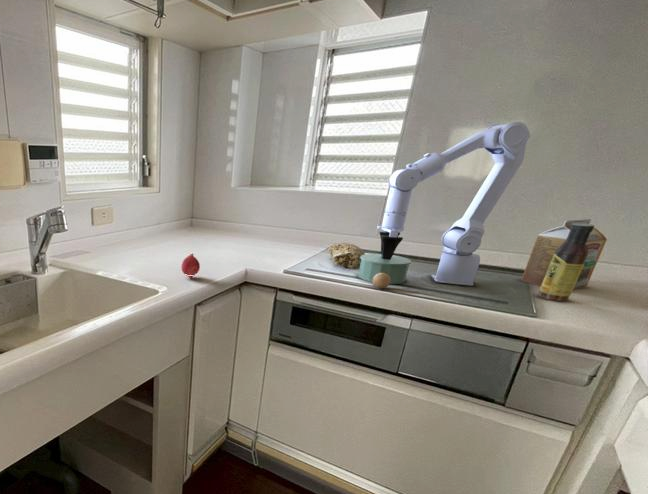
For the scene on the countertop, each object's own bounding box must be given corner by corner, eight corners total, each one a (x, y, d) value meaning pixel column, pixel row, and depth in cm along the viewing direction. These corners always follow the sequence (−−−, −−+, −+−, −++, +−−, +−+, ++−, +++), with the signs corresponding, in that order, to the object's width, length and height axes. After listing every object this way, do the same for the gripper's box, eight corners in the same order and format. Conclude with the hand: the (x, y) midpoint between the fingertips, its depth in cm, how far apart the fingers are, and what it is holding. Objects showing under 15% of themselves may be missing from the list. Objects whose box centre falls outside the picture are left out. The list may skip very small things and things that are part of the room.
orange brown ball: (388, 286, 120) (391, 271, 118) (389, 291, 116) (393, 275, 114) (370, 285, 121) (373, 270, 120) (371, 289, 118) (374, 274, 116)
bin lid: (407, 259, 129) (411, 244, 128) (413, 269, 118) (417, 253, 116) (359, 255, 135) (362, 241, 133) (360, 264, 123) (363, 249, 121)
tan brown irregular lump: (362, 273, 138) (368, 251, 152) (361, 252, 135) (368, 231, 149) (321, 275, 146) (331, 253, 160) (320, 254, 142) (329, 234, 156)
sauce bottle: (536, 293, 113) (564, 221, 106) (567, 297, 110) (598, 223, 102) (537, 299, 109) (566, 224, 101) (569, 304, 105) (602, 226, 97)
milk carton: (561, 290, 116) (589, 223, 108) (521, 280, 125) (543, 218, 118) (586, 287, 118) (614, 221, 111) (544, 277, 128) (568, 216, 120)
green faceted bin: (401, 275, 131) (406, 257, 129) (406, 286, 120) (411, 266, 118) (357, 271, 136) (361, 254, 134) (358, 281, 125) (362, 262, 123)
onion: (184, 280, 126) (185, 255, 123) (178, 276, 132) (179, 252, 129) (201, 279, 128) (203, 254, 125) (195, 274, 133) (196, 250, 130)
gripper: (379, 209, 128) (370, 251, 133) (382, 214, 116) (372, 260, 121) (404, 210, 125) (394, 253, 130) (410, 215, 113) (399, 262, 118)
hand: (385, 256), depth 126 cm, fingers open, 6 cm apart
